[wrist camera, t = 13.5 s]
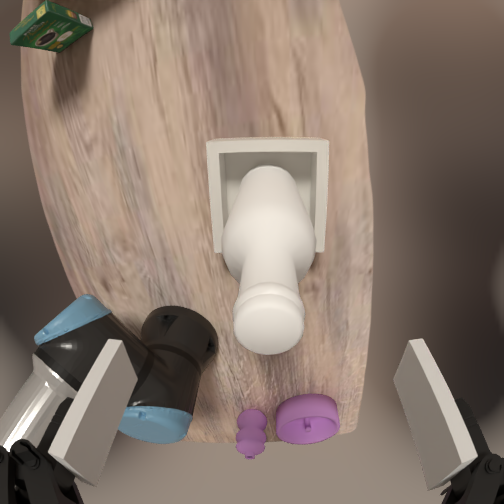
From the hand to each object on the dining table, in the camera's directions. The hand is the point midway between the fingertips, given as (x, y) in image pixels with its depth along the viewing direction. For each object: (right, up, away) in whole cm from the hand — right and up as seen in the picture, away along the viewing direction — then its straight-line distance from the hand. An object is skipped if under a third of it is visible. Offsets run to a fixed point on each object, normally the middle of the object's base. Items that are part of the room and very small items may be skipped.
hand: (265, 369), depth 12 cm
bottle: (+2, +14, +29) cm, 33 cm away
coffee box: (-30, +41, +19) cm, 55 cm away
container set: (+8, -35, +54) cm, 65 cm away
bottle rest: (+2, +14, +30) cm, 33 cm away
